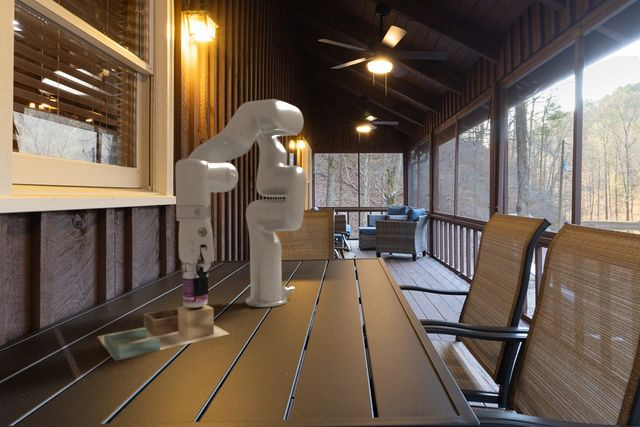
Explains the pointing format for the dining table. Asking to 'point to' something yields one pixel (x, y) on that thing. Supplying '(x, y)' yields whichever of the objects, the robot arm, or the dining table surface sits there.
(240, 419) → the dining table surface
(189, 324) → the oak block
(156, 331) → the walnut ring block
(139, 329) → the board
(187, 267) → the pill bottle
